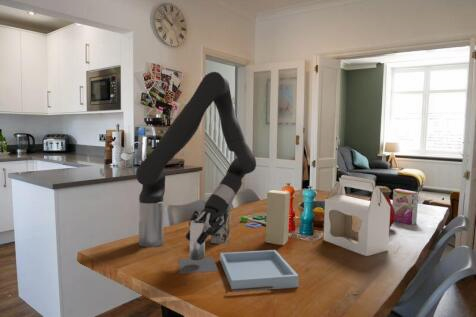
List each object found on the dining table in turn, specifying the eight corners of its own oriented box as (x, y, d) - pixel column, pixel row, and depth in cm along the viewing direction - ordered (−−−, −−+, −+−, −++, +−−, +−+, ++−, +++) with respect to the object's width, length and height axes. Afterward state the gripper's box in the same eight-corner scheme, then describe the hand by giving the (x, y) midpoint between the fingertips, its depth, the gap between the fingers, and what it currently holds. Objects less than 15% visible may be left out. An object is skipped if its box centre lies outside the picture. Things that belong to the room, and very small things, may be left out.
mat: (179, 276, 107) (179, 273, 107) (178, 262, 119) (178, 259, 119) (218, 274, 110) (218, 271, 110) (213, 260, 121) (213, 257, 121)
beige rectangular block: (289, 240, 145) (290, 191, 143) (283, 245, 138) (285, 194, 136) (271, 237, 148) (272, 189, 146) (265, 242, 141) (266, 192, 140)
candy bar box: (390, 220, 181) (392, 189, 180) (396, 218, 184) (397, 188, 182) (411, 225, 172) (413, 192, 170) (416, 223, 174) (418, 192, 173)
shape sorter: (282, 213, 194) (282, 205, 194) (306, 221, 178) (307, 212, 178) (232, 221, 175) (232, 213, 174) (255, 231, 159) (256, 221, 159)
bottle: (360, 229, 163) (362, 187, 161) (361, 222, 175) (363, 183, 173) (396, 233, 157) (399, 190, 155) (395, 226, 169) (397, 186, 167)
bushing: (190, 260, 111) (190, 224, 110) (189, 255, 116) (189, 220, 115) (205, 259, 112) (206, 223, 111) (203, 254, 117) (204, 219, 116)
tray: (231, 292, 97) (231, 280, 97) (219, 262, 119) (220, 253, 119) (298, 287, 101) (298, 275, 101) (275, 259, 123) (275, 249, 123)
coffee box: (225, 244, 138) (226, 205, 137) (210, 243, 139) (210, 204, 138) (230, 237, 147) (231, 200, 146) (216, 236, 148) (216, 199, 147)
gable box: (322, 240, 146) (325, 174, 144) (343, 235, 153) (346, 173, 151) (367, 256, 127) (370, 182, 125) (388, 250, 134) (392, 179, 132)
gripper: (201, 190, 123) (173, 230, 115) (229, 196, 113) (201, 240, 105) (211, 203, 127) (185, 242, 119) (240, 210, 117) (213, 253, 110)
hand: (193, 241), depth 112 cm, fingers closed on bushing, 5 cm apart
